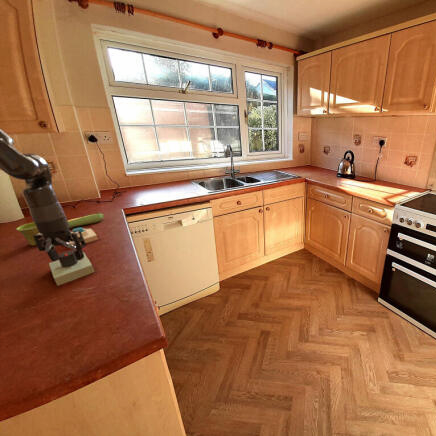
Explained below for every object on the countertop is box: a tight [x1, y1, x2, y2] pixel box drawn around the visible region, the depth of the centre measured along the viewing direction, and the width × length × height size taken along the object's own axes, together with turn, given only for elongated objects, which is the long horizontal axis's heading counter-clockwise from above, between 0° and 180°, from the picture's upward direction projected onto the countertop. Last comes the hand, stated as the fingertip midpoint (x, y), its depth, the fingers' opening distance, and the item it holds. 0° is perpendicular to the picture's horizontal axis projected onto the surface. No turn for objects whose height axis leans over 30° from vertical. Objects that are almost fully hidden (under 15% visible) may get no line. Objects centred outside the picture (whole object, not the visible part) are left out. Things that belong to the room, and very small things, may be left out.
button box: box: [69, 228, 99, 247], centre depth 110 cm, size 12×10×4 cm
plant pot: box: [16, 221, 39, 247], centre depth 107 cm, size 9×9×9 cm
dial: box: [57, 250, 78, 267], centre depth 85 cm, size 4×4×4 cm
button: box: [72, 226, 84, 232], centre depth 109 cm, size 4×4×2 cm
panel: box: [48, 251, 96, 287], centre depth 86 cm, size 14×10×3 cm
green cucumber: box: [67, 212, 105, 229], centre depth 126 cm, size 5×20×5 cm, turn 135°
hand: (68, 259), depth 85 cm, fingers open, 8 cm apart
